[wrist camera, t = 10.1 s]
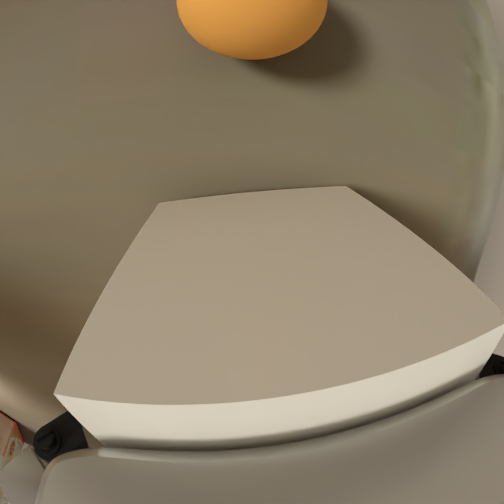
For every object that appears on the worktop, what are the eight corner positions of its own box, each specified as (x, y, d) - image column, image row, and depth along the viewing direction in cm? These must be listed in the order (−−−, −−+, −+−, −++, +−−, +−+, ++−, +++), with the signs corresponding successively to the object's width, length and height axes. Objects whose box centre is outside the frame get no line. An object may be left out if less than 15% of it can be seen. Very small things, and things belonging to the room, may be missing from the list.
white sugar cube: (333, 325, 15) (394, 468, 7) (192, 342, 14) (185, 502, 6) (345, 186, 11) (510, 319, 3) (159, 203, 11) (53, 394, 3)
